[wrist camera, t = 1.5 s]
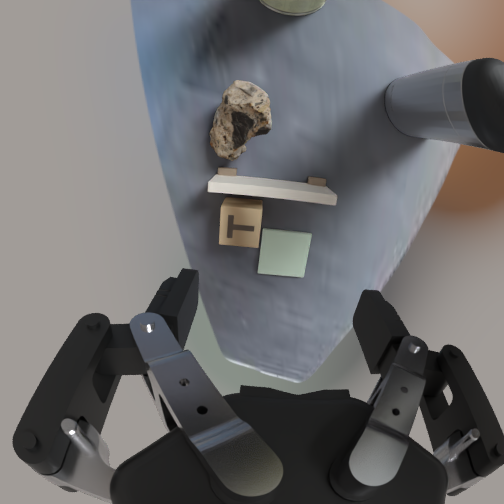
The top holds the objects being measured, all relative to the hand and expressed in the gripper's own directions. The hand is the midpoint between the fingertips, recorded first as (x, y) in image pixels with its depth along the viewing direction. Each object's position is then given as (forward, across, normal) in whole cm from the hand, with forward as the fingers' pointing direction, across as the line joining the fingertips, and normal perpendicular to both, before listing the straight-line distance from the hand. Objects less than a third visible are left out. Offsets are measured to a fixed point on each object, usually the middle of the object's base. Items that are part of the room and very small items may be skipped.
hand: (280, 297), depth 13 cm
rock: (+26, +5, -8) cm, 28 cm away
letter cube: (+26, +3, +4) cm, 27 cm away
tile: (+26, -4, +9) cm, 28 cm away
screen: (+26, 0, -1) cm, 26 cm away
